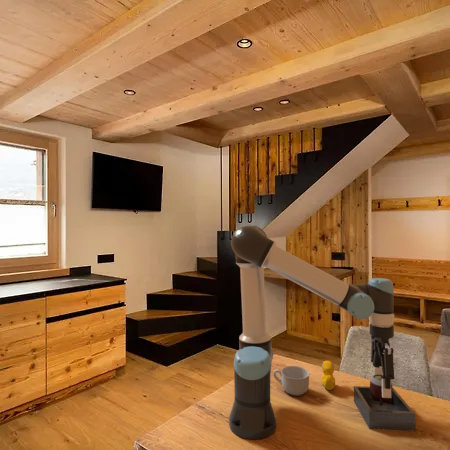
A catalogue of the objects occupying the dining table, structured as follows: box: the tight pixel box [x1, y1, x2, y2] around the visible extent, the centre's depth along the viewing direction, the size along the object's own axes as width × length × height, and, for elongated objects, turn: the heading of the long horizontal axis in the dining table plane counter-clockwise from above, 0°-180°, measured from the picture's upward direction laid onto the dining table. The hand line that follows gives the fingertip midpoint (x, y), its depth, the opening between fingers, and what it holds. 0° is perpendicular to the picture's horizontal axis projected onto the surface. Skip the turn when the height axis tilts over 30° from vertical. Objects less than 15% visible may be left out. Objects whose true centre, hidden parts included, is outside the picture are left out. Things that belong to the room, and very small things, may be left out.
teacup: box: [272, 365, 310, 397], centre depth 132 cm, size 14×11×8 cm
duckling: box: [320, 359, 336, 391], centre depth 134 cm, size 11×5×10 cm, turn 167°
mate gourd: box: [369, 362, 396, 406], centre depth 114 cm, size 8×8×15 cm
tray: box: [353, 385, 416, 432], centre depth 115 cm, size 14×17×6 cm
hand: (382, 391), depth 115 cm, fingers closed on mate gourd, 7 cm apart
